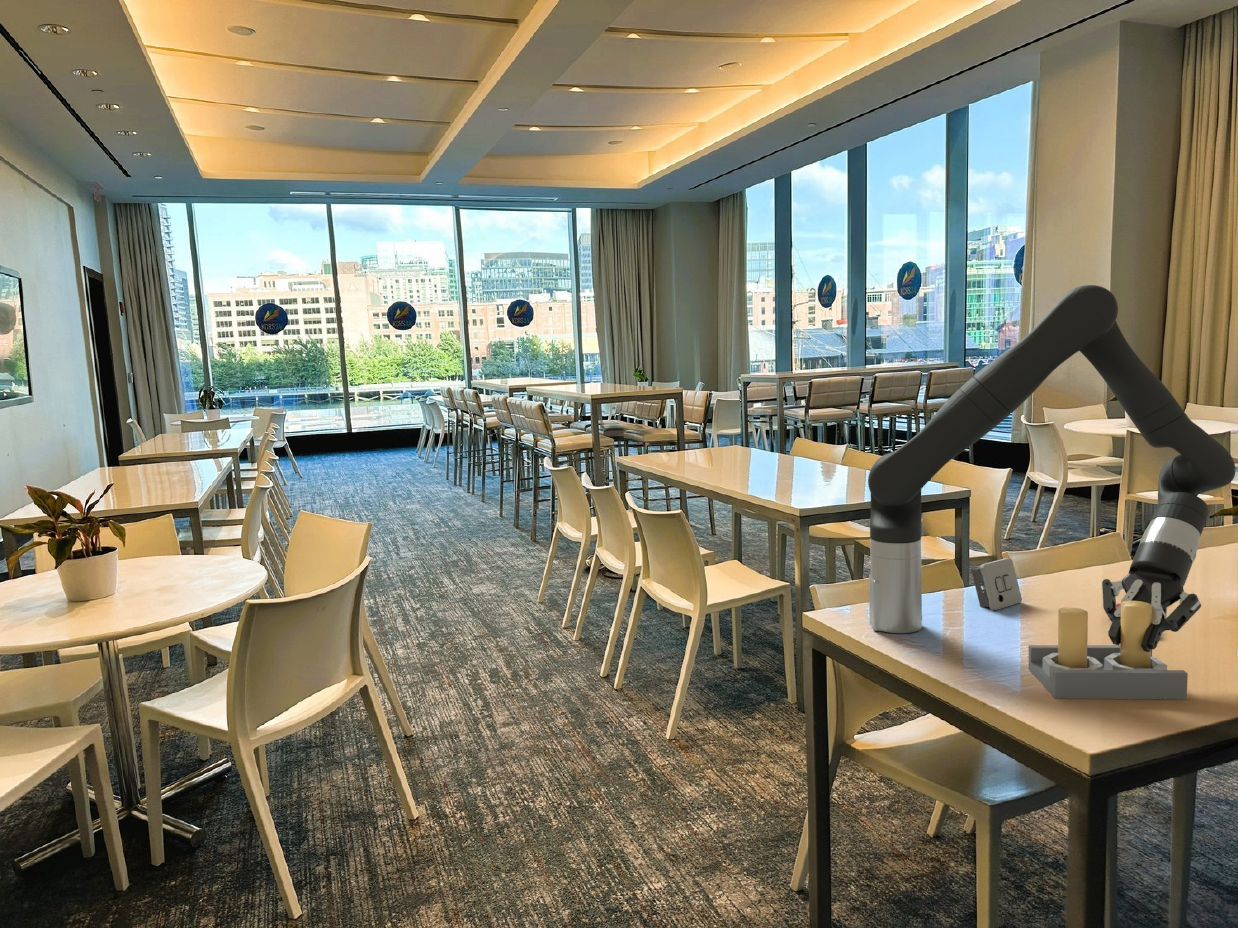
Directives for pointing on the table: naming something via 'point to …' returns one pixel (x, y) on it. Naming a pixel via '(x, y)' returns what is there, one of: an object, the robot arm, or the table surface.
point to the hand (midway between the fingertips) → (1129, 645)
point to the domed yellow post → (1134, 633)
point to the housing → (1098, 667)
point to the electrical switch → (997, 584)
